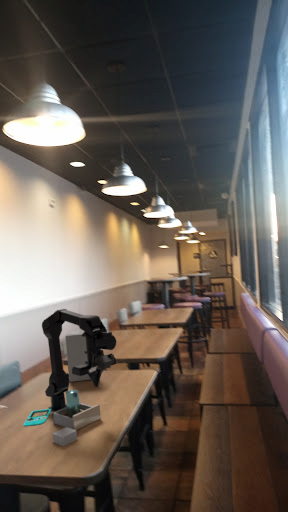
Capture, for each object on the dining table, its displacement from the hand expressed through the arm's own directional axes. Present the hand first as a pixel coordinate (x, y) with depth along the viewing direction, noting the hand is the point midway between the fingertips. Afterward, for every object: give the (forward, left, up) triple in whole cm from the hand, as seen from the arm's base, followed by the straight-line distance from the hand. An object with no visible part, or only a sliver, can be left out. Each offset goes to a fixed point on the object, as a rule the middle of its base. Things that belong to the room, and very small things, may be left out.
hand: (96, 386), depth 148 cm
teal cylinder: (-8, -6, -11) cm, 15 cm away
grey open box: (-7, -6, -13) cm, 16 cm away
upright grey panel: (-48, +30, -13) cm, 59 cm away
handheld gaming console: (-24, -13, -13) cm, 30 cm away
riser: (+4, -19, -13) cm, 23 cm away
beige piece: (-6, -6, -12) cm, 15 cm away
